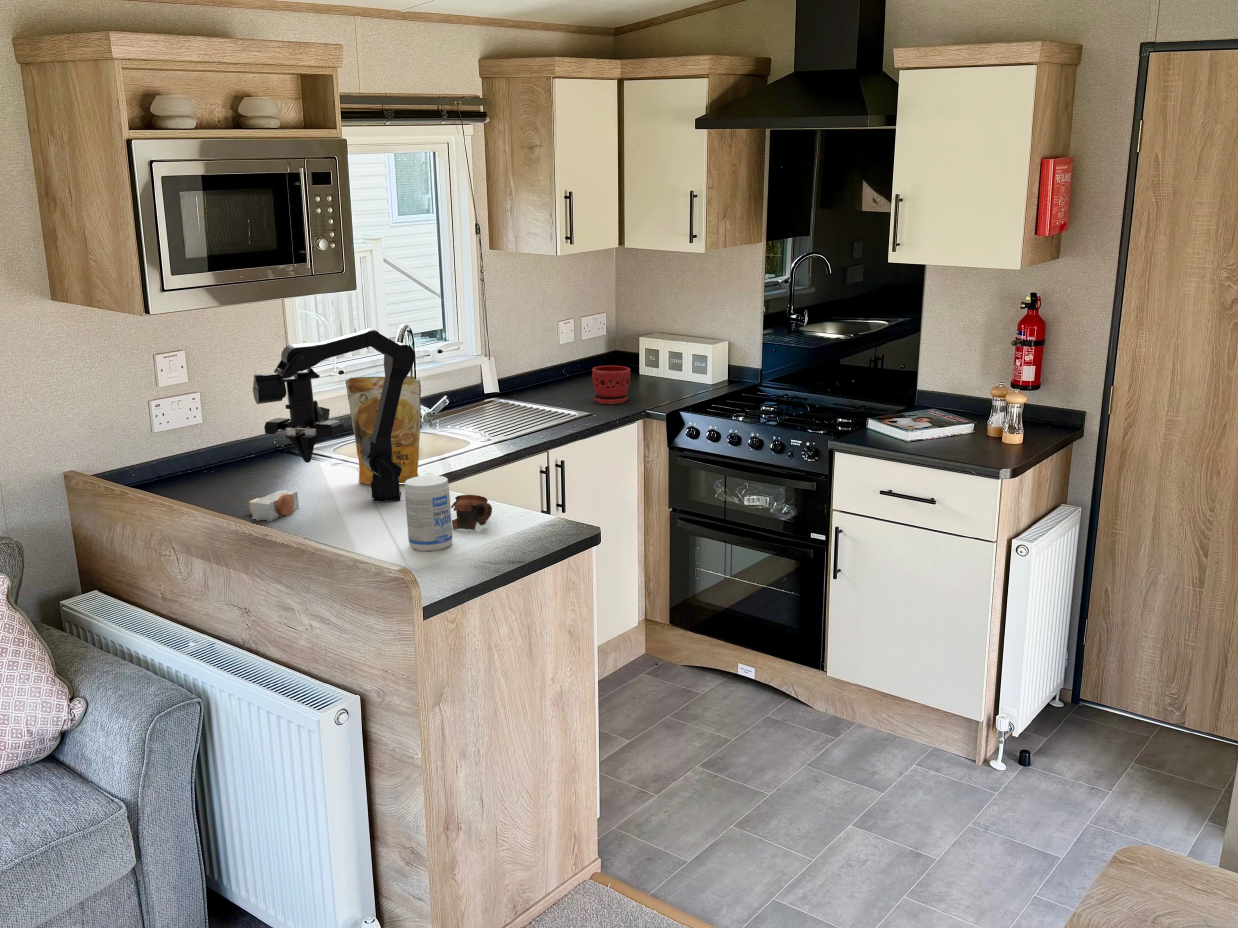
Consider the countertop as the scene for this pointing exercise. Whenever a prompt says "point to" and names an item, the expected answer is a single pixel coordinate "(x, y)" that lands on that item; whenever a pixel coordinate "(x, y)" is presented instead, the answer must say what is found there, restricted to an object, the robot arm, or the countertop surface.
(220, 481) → the countertop surface
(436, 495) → the supplement tub
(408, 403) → the pancake mix bag
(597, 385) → the plant pot
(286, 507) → the lynch pin
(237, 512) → the countertop surface
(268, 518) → the block
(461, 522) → the pottery mug
